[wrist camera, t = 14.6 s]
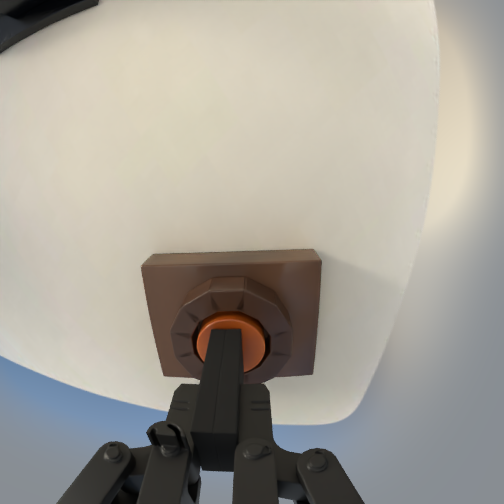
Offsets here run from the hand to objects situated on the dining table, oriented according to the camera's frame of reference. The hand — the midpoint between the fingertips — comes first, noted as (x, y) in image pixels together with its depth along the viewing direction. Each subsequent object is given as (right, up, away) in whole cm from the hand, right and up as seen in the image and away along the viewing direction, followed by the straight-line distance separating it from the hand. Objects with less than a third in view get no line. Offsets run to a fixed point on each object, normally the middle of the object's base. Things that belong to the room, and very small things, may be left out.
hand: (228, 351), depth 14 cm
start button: (0, +1, +2) cm, 2 cm away
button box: (0, +1, +4) cm, 5 cm away
